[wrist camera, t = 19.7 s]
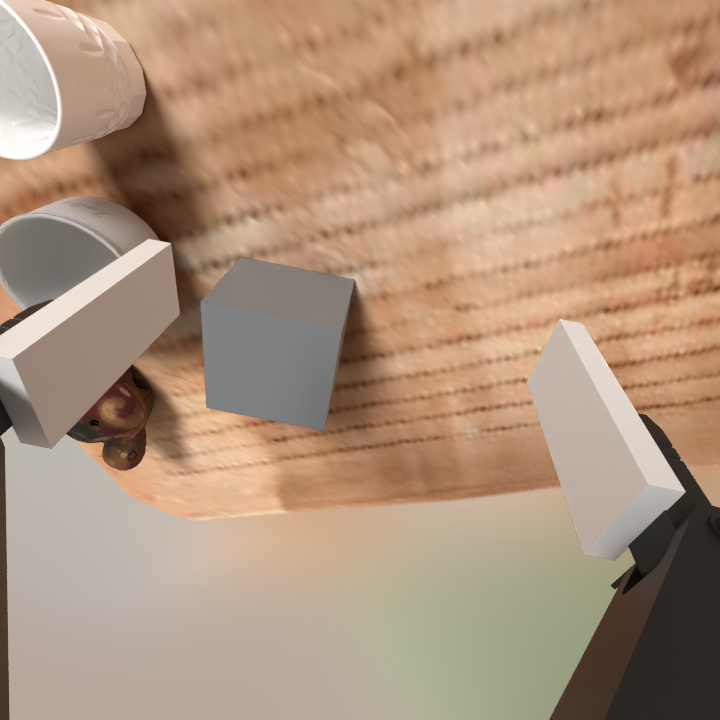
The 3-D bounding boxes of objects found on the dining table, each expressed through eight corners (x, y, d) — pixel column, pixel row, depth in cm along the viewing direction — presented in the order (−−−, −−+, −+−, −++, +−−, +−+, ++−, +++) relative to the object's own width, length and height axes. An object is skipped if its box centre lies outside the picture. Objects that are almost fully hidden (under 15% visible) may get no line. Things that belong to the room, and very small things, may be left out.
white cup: (50, -27, 27) (-109, -71, 18) (168, 52, 28) (71, 43, 20) (38, 97, 31) (-96, 106, 23) (141, 159, 33) (52, 187, 24)
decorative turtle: (144, 438, 51) (99, 489, 45) (46, 342, 45) (-22, 385, 39) (198, 414, 47) (157, 467, 41) (98, 307, 42) (32, 347, 35)
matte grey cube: (354, 279, 37) (341, 330, 29) (338, 370, 42) (324, 430, 35) (241, 257, 36) (200, 302, 29) (240, 350, 42) (206, 407, 35)
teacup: (134, 166, 33) (67, 189, 26) (209, 285, 38) (168, 328, 32) (14, 226, 37) (-71, 259, 30) (97, 326, 42) (40, 372, 36)
